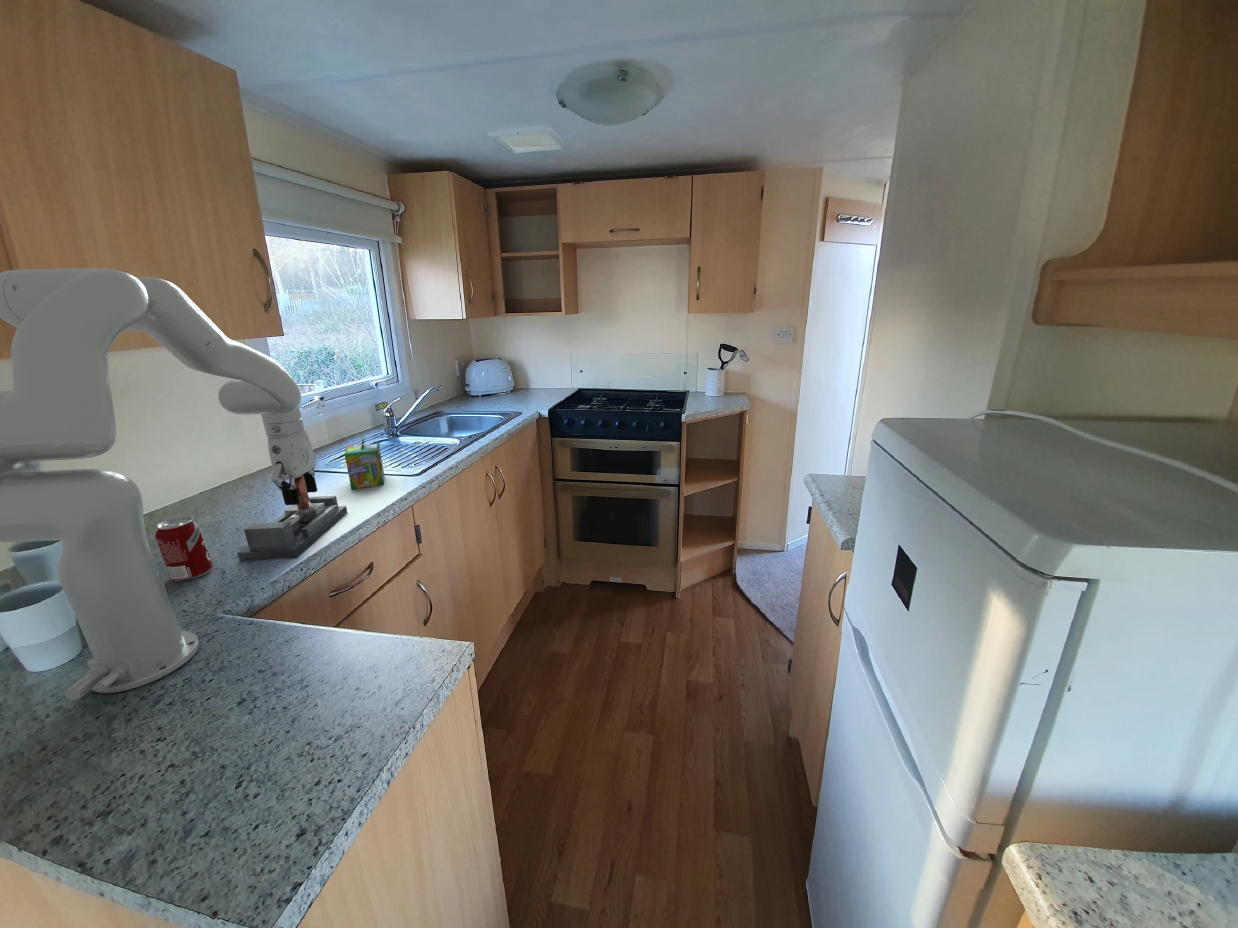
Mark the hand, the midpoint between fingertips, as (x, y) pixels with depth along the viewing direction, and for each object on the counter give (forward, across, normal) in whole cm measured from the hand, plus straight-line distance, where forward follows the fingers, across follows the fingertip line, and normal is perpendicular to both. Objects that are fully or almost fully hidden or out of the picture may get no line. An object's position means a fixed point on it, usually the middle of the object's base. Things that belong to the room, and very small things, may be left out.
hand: (301, 497), depth 118 cm
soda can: (+8, -22, +12) cm, 26 cm away
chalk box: (+8, +30, -2) cm, 32 cm away
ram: (+5, -3, 0) cm, 6 cm away
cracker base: (+8, -4, 0) cm, 9 cm away
